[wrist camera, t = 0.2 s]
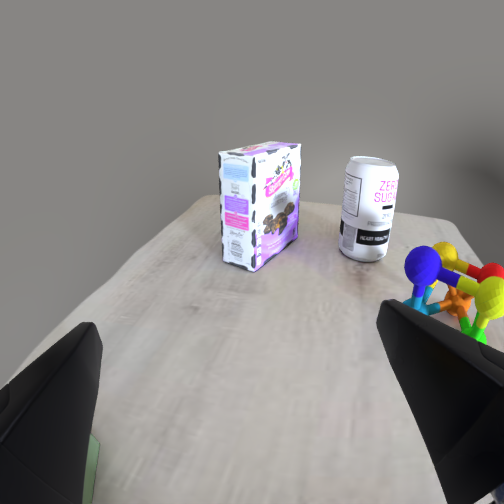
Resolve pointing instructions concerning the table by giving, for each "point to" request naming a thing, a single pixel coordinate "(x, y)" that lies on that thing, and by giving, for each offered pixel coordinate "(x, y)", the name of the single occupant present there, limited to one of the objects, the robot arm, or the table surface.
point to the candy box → (258, 201)
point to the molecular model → (455, 286)
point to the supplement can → (367, 208)
